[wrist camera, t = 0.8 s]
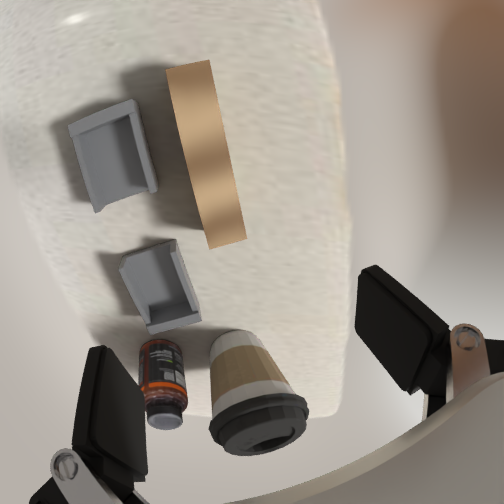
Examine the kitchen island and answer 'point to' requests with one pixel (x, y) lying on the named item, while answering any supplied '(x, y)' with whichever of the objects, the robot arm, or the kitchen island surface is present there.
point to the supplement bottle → (163, 384)
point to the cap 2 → (160, 287)
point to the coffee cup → (251, 398)
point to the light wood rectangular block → (206, 152)
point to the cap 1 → (113, 154)
